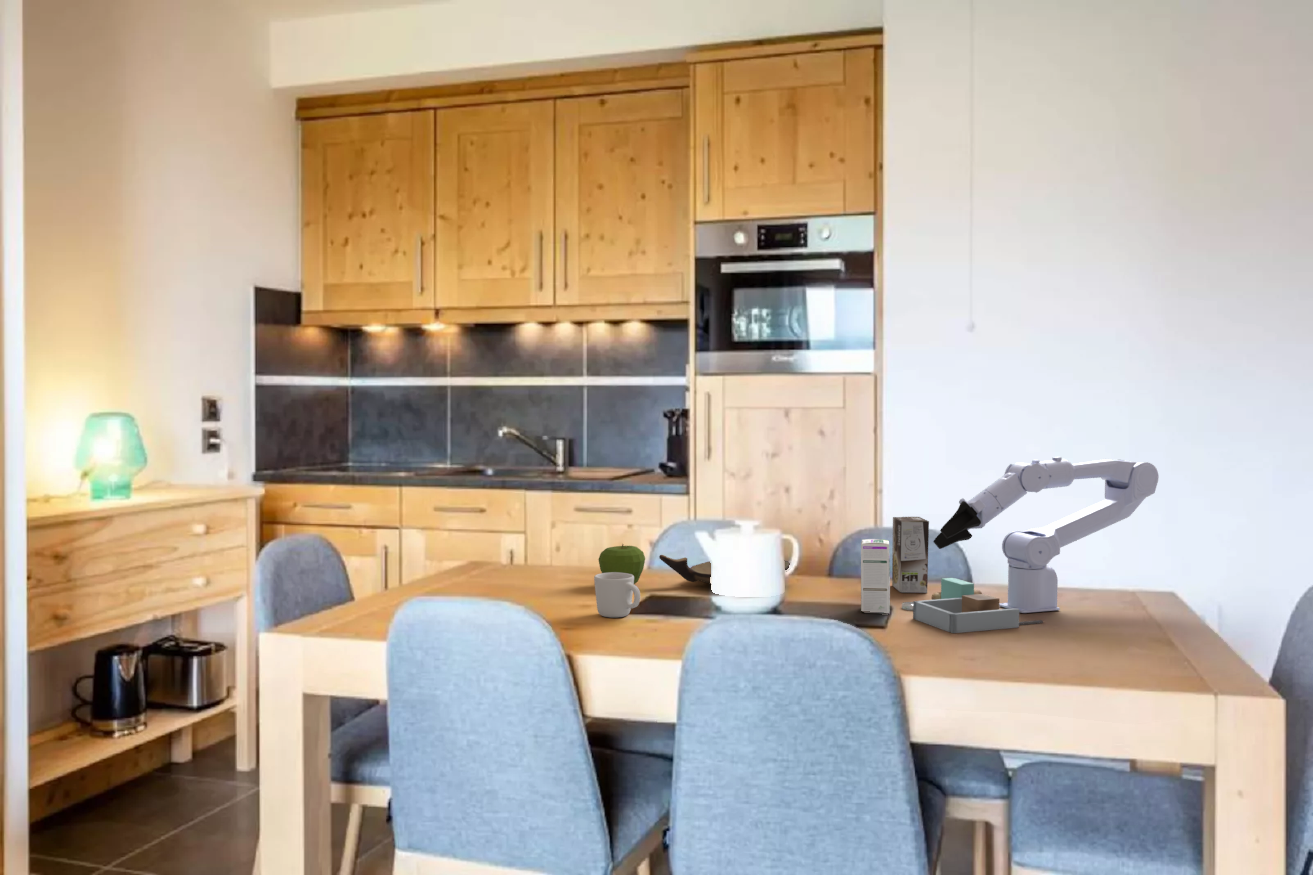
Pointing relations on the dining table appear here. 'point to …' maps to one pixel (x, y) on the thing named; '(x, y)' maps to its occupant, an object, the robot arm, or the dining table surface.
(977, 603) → the cube
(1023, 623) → the strips
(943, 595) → the green block
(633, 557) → the apple
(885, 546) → the syrup box
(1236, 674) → the dining table surface
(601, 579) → the cup
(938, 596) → the dowel
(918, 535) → the coffee box
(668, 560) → the oil lamp
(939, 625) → the tray
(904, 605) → the washer
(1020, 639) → the dining table surface
